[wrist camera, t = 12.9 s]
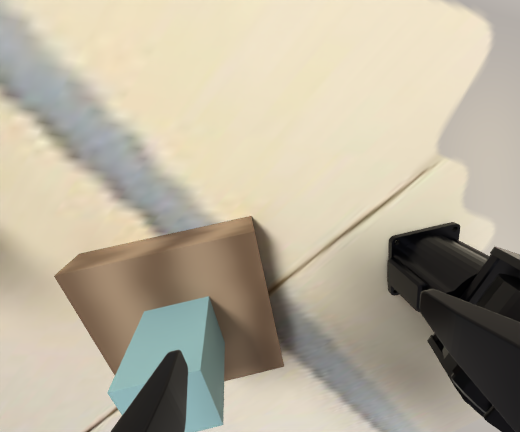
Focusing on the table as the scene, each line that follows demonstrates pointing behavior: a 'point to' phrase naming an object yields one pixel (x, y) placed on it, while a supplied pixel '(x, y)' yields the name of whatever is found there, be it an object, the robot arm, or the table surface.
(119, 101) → the table surface
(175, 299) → the plinth
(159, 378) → the robot arm
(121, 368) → the teal block
